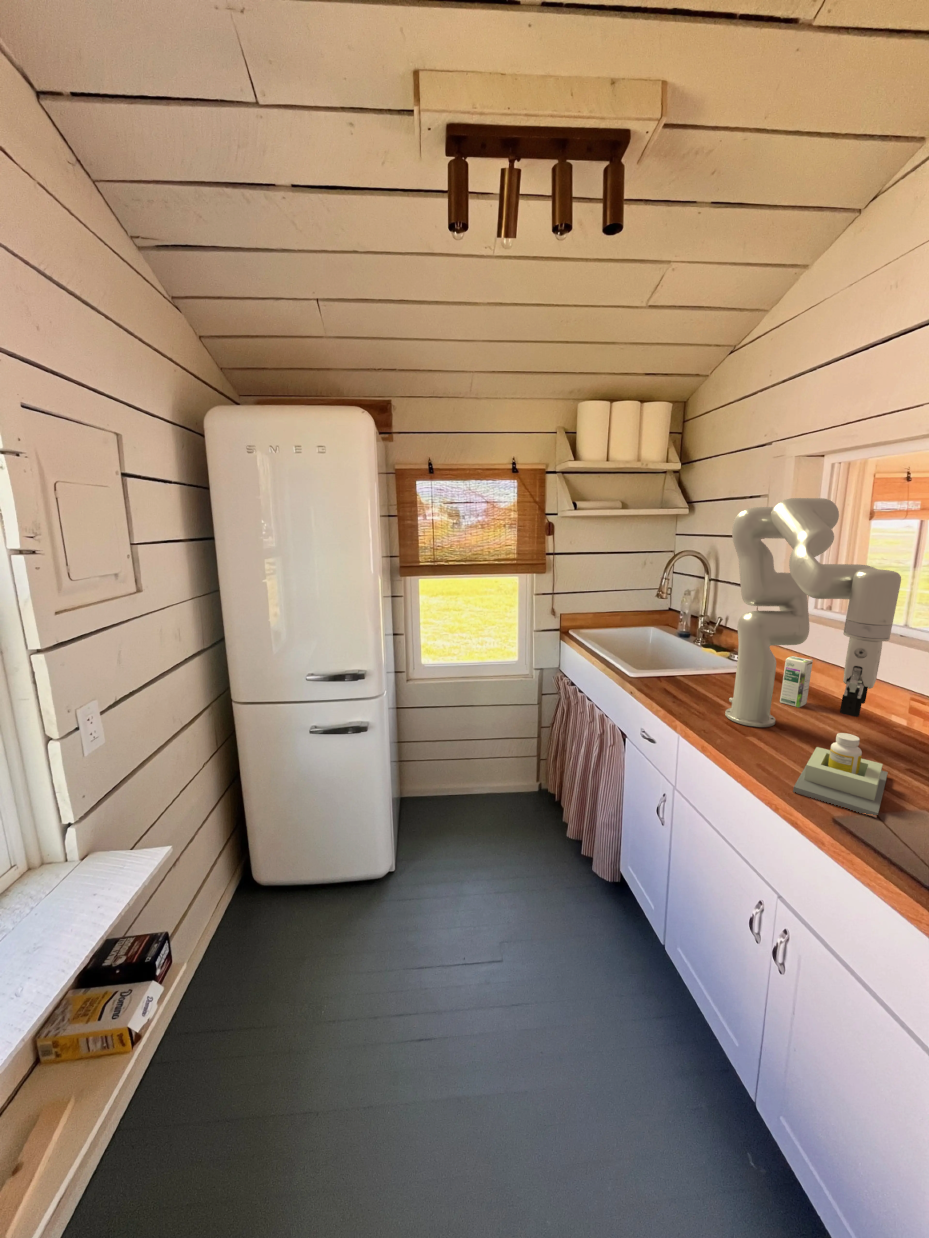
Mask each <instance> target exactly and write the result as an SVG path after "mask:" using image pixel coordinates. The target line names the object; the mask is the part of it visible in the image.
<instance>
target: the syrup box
mask: <svg viewBox="0 0 929 1238" xmlns="http://www.w3.org/2000/svg"><path fill="white" fill-rule="evenodd" d="M784 662H785V663H784V671H783V677H782V684H781V691H780V699H779V703H780V704H786V705H788V706H792V707H796V708H797V709H798V708H801V707H803V706H805V705H806V704H807V703H808V702H807V701H808V695H809V688H810V682H811V676H812V675H811V674H812V670H813V669H812V668H813V663H814V661H813V659H808V658H804V657H798V656H794V655H793V656H789V657H787V658H785V661H784Z"/></svg>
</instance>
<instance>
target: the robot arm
mask: <svg viewBox="0 0 929 1238" xmlns="http://www.w3.org/2000/svg"><path fill="white" fill-rule="evenodd" d="M839 517H840V513H839V508H838V506H837V505H836V503H834V502H833V500H831V499H828V498H822V497H819V498H818V497H810V498H809V497H794V498H788V499H787V498H786V499H784V500H781V501H779V502H778V503H776V504H775V505H774V506H758V507H749V508H746V509H743V510H741V511H740V512H738V514H737V515H736V516H735V518H734V520H733V523H732V530H731V535H732V542H733V545H734V549H735V552H736V555H737V558H738V559H737V561H738V569H739V582H740V592H741V599H742V601H743V603H744V604H746V605H748V606H751V607H779V610H753V611H748V612H746V613H744V614H742V615H741V616H740V617H739V619H738V621H737V639H738V652H737V660H736V662H737V663H736V671H735V672H736V673H735V681H734V687H733V697H729V699H728V701H729V702H730V703H731V707H729V708H727V709H725V711H724V712H725V713H724V714H725V717H726V718H727V719H729V720H730V721H732V722H734V723H736V724H740V725H743V726H746V727H747V726H748V727H752V728H753V727H754V728H769V727H772V726H774V725H776V718H775V716H773V715H771V709H772V699H773V692H774V685H775V680H776V679H775V678H776V671H777V660H776V656H775V655H774V653H773V651H772V650H771V647H770V646H796V645H797V646H798V645H801V644H803V643H805V642H806V640H807V639H808V637H809V634H810V615H809V604H808V597H809V598H813V599H815V600H848V606H847V610H846V616H845V623H844V627H843V628H844V629H843V632H842V633H843V635H844V636H846V637H848V638H849V640H848V644H847V645H848V646H847V651H846V657H845V662H844V663H845V665H844V670H843V680H842V681H843V683H844V684H845V689H844V693H843V694H842V697H841V703H840V709H839V713H840V714H841V715H845V716H846V715H847V716H851V717H854V718H859V717H860V714H861V709H862V704H866V699H867V694H868V689H869V690H870V689H873V688H874V685H875V683H876V681H877V677H878V672H879V667H880V666H879V665H880V661H881V655H882V650H883V649H882V648H883V642H888V641H890V640H891V633H892V628H893V624H894V619H895V613H896V608H897V604H898V598H899V594H900V589H901V583H902V577H901V575H900V573H899V572H897V571H894V570H891V569H890V570H888V569H878V568H875V567H874V566H872V565H871V566H870V565H867V564H848V563H846V564H843V563H832V564H831V563H825V564H823V563H820V562H819V561H818V560H817V559H816V557H819V556H820V555H823V554H824V553H825V552H826V551H827V550H828V549H829V548H831V546H832V544H833V543H834V540H835V533H834V530H832V529H834V528H835V527H836V525H837V523H838V521H839V519H840V518H839ZM762 539H785V542H787V543H788V545H789V546H790V547H791V548H792V550H791V553H790V556H789V562H788V566H789V567H788V568H789V572H777V571H776V570H775V564H774V562H775V561H774V555H773V553H772V552H771V550H770V549H769V547H768V546H767V545H766V543H764V542H763V541H762Z"/></svg>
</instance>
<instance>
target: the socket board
mask: <svg viewBox="0 0 929 1238" xmlns="http://www.w3.org/2000/svg"><path fill="white" fill-rule="evenodd" d="M829 756H830V749H826V748H823V747H819V746H816V747H815V749H814V751H813V752H812V754H811V756H810V758H809V759H808V761H807V763H806V765H805V766H804V768H803V770H802V772H801V773H800V775H799V777H798V779H797V781H796V782H795V783H794V785H793V789H792V792H793V793H795V792H796V793H795V794H798V795H801V796H805V797H808V798H810V797H811V799H814V798H815V800H817V799H818V800H817V801H820V800H821V802H823V801H824V802H823V803H826V802H827V803H826V804H829V803H831V804H830V805H832V804H834V805H833V806H836V805H838V806H837V807H839V806H841V807H840V808H842V807H845V808H848V809H850V810H849V811H851V810H853V811H852V812H854V811H856V812H855V813H858V812H859V813H858V814H861V813H866V814H873V815H878V816H879V813H880V812H879V811H880V807H881V803H882V799H883V795H884V791H885V787H886V783H887V779H888V778H887V776H888V774H889V772H888V771H886V770H882V769H883V765H884V764H883V763H880V762H877V761H873V760H869V759H866V758H862V757H861V762H860V768H859V774H858V775H856V774H852V773H849V772H845V771H842V770H838V769H834V768H831V767H828V763H829ZM845 808H844V809H845ZM848 809H847V810H848Z"/></svg>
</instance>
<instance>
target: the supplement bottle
mask: <svg viewBox="0 0 929 1238" xmlns="http://www.w3.org/2000/svg"><path fill="white" fill-rule="evenodd" d="M859 745H860V737H859V736H856V735H855V734H850V733H846V732H838V733H837V734H836V736H835V742H832V743H831V745H830V749H829V750H830V756H829V763H828V767H831V768H834V769H838V770H842V771H845V772H849V773H852V774H856V775H858V774H859V768H860V762H861V758H862V754H863V752H862V749H861V748H860V747H859Z"/></svg>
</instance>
